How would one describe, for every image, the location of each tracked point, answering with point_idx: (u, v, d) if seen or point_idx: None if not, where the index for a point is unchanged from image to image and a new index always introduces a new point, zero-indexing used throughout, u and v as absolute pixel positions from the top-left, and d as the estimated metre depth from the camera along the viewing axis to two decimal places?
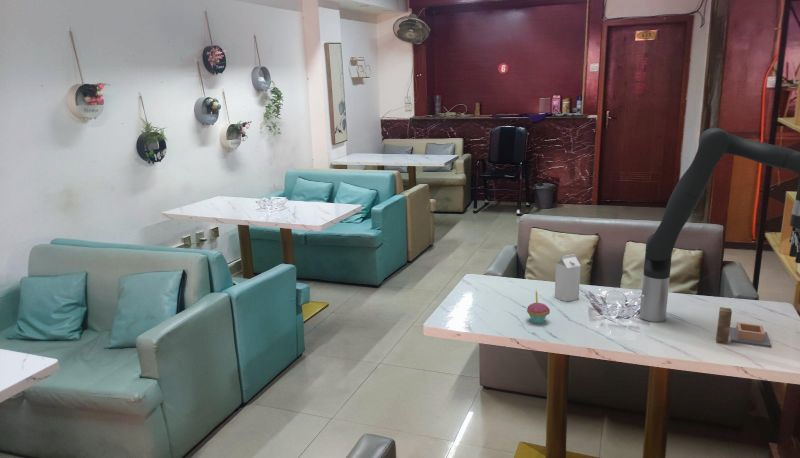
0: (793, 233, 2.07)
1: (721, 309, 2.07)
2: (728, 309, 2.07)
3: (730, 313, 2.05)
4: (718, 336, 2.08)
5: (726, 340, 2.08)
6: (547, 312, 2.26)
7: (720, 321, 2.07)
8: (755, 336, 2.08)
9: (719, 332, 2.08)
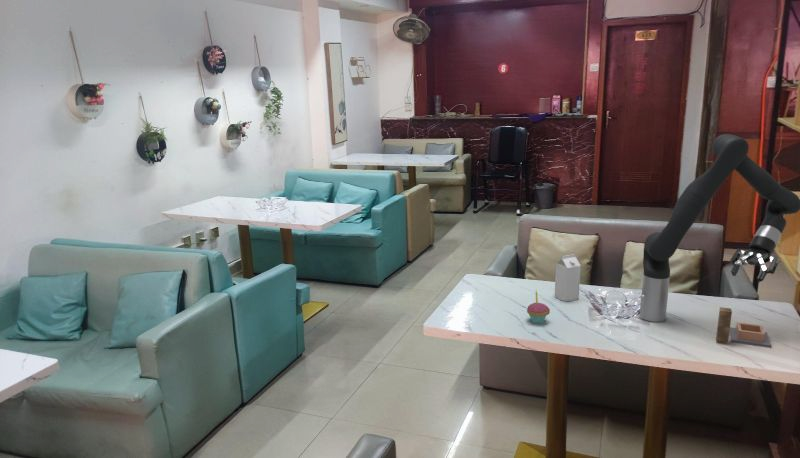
0: (752, 253, 2.13)
1: (721, 309, 2.07)
2: (728, 309, 2.07)
3: (730, 313, 2.05)
4: (718, 336, 2.08)
5: (726, 340, 2.08)
6: (547, 312, 2.26)
7: (720, 321, 2.07)
8: (755, 336, 2.08)
9: (719, 332, 2.08)
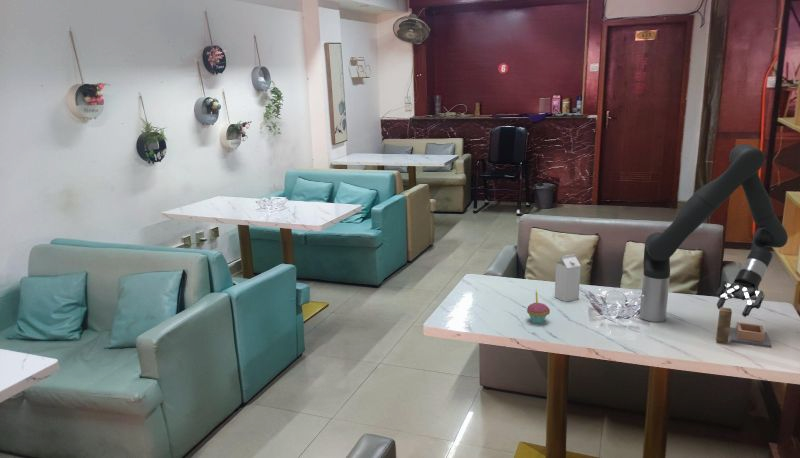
0: (738, 287, 2.12)
1: (721, 309, 2.07)
2: (728, 309, 2.07)
3: (730, 313, 2.05)
4: (718, 336, 2.08)
5: (726, 340, 2.08)
6: (547, 312, 2.26)
7: (720, 321, 2.07)
8: (755, 336, 2.08)
9: (719, 332, 2.08)
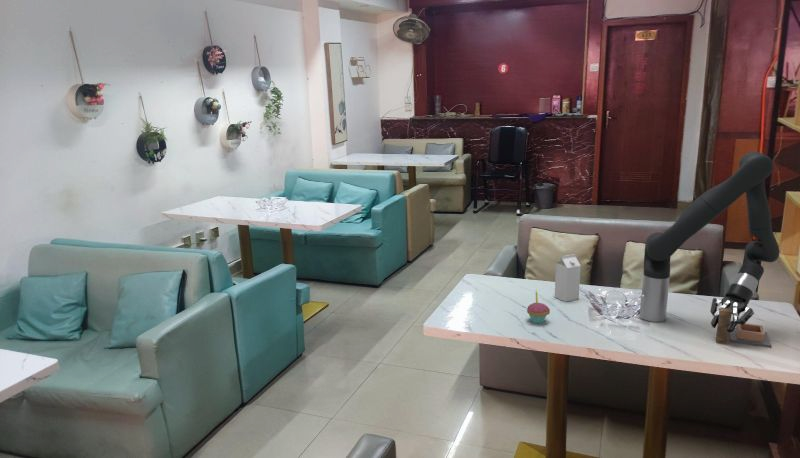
0: (729, 301, 2.10)
1: (721, 309, 2.07)
2: (728, 309, 2.07)
3: (730, 313, 2.05)
4: (718, 336, 2.08)
5: (726, 340, 2.08)
6: (547, 312, 2.26)
7: (720, 321, 2.07)
8: (755, 336, 2.08)
9: (719, 332, 2.08)
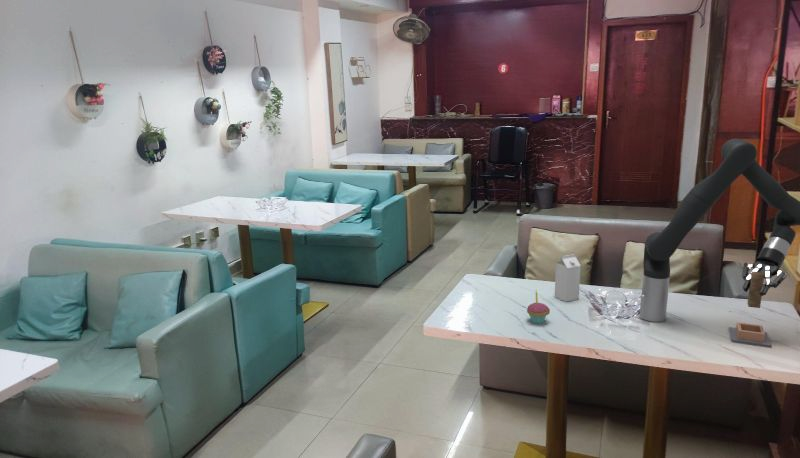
0: (760, 265, 2.09)
1: (753, 273, 2.07)
2: (760, 272, 2.07)
3: (763, 276, 2.05)
4: (750, 300, 2.08)
5: (758, 304, 2.07)
6: (547, 312, 2.26)
7: (752, 284, 2.07)
8: (755, 336, 2.08)
9: (751, 296, 2.08)
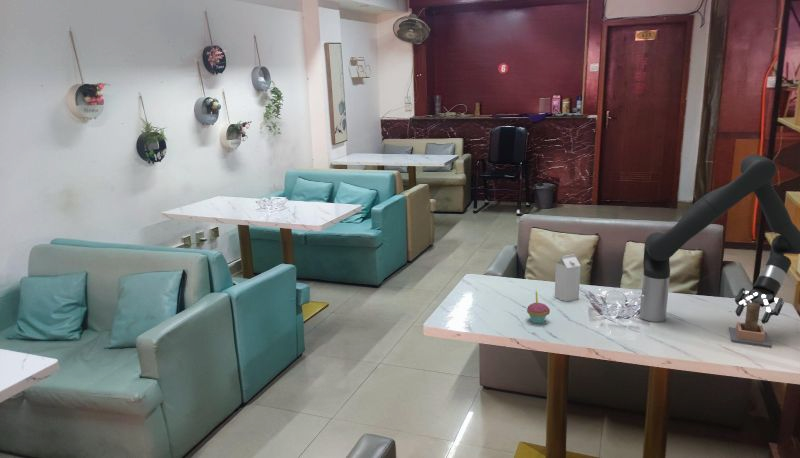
0: (756, 294, 2.12)
1: (749, 303, 2.10)
2: (756, 303, 2.10)
3: (758, 307, 2.08)
4: (746, 330, 2.11)
5: None
6: (547, 312, 2.26)
7: (748, 315, 2.10)
8: (755, 336, 2.08)
9: (747, 326, 2.10)
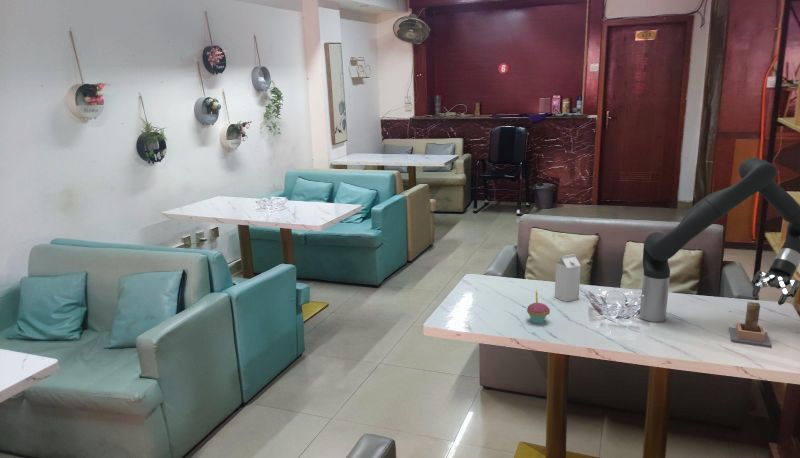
0: (773, 276, 2.18)
1: (749, 303, 2.10)
2: (756, 303, 2.10)
3: (758, 307, 2.08)
4: (746, 330, 2.11)
5: None
6: (547, 312, 2.26)
7: (748, 315, 2.10)
8: (755, 336, 2.08)
9: (747, 326, 2.10)
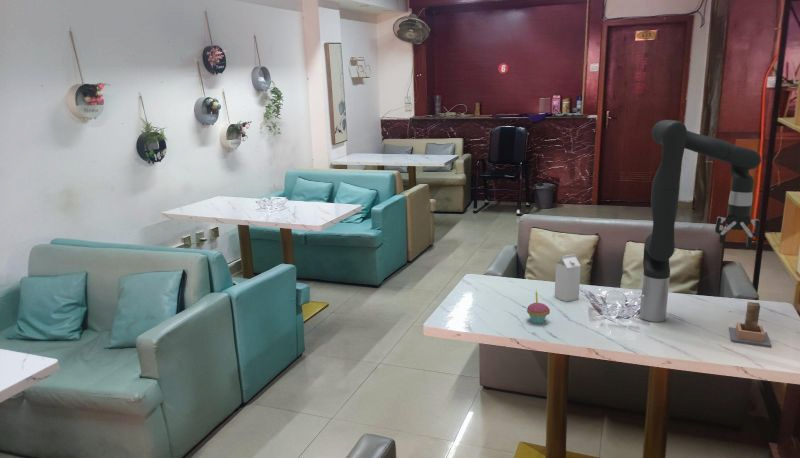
0: (735, 223, 2.23)
1: (749, 303, 2.10)
2: (756, 303, 2.10)
3: (758, 307, 2.08)
4: (746, 330, 2.11)
5: None
6: (547, 312, 2.26)
7: (748, 315, 2.10)
8: (755, 336, 2.08)
9: (747, 326, 2.10)
